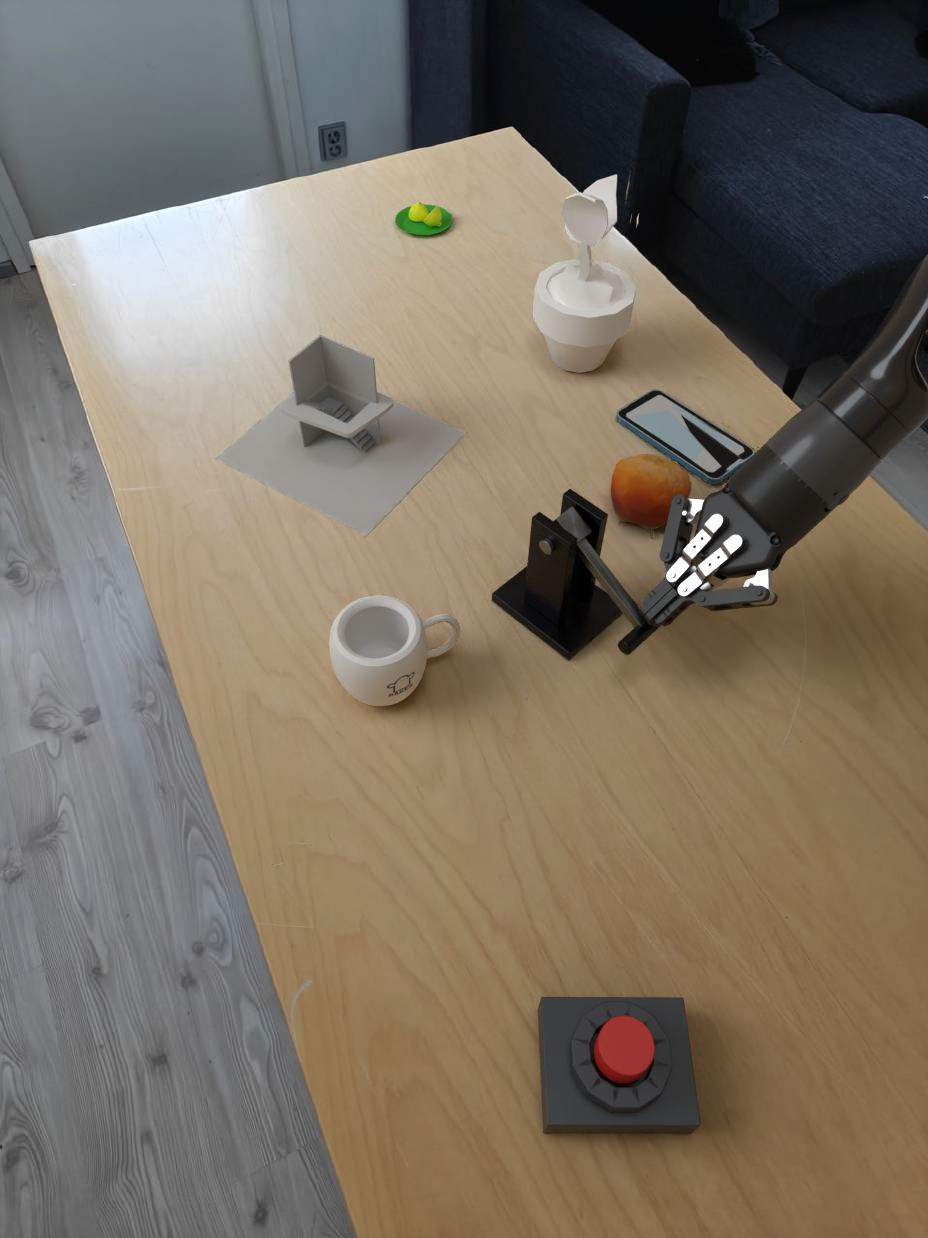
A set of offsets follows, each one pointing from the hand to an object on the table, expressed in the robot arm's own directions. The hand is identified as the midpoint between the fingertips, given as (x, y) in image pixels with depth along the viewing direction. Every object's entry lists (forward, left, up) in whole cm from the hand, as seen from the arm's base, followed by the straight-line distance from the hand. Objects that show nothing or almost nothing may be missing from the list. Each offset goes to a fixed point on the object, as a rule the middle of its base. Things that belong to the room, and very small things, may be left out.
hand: (648, 619), depth 80 cm
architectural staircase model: (+42, 0, -7) cm, 42 cm away
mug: (+15, +16, -7) cm, 23 cm away
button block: (-20, +28, -7) cm, 35 cm away
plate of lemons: (+69, -38, -7) cm, 79 cm away
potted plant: (+34, -31, -7) cm, 46 cm away
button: (-20, +28, -2) cm, 35 cm away
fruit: (+12, -16, -7) cm, 21 cm away
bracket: (+10, 0, -7) cm, 12 cm away
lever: (+6, 0, 0) cm, 6 cm away
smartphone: (+16, -28, -7) cm, 33 cm away
